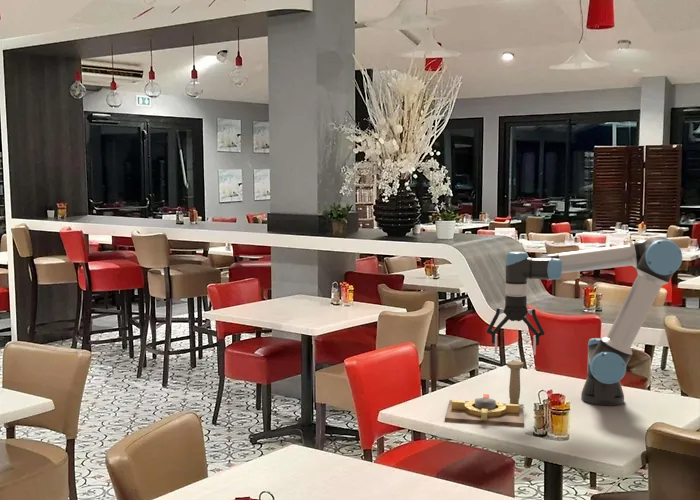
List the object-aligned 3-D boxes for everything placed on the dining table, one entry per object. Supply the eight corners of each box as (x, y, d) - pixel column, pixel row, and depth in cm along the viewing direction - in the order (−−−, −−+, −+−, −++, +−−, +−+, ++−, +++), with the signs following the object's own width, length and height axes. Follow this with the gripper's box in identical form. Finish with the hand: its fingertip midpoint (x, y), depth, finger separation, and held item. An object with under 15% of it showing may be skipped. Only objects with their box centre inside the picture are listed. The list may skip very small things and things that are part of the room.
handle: (525, 403, 294) (526, 362, 293) (514, 406, 290) (515, 365, 289) (514, 400, 298) (515, 360, 297) (503, 403, 294) (504, 363, 293)
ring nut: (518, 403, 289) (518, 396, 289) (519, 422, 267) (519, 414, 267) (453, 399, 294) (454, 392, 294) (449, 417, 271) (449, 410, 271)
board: (523, 408, 289) (524, 394, 288) (524, 426, 267) (525, 412, 267) (449, 403, 294) (449, 390, 293) (444, 421, 272) (445, 407, 272)
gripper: (551, 294, 292) (550, 352, 294) (481, 292, 297) (480, 349, 298) (552, 297, 285) (551, 357, 287) (480, 295, 289) (479, 354, 291)
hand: (515, 353), depth 292 cm, fingers open, 13 cm apart
